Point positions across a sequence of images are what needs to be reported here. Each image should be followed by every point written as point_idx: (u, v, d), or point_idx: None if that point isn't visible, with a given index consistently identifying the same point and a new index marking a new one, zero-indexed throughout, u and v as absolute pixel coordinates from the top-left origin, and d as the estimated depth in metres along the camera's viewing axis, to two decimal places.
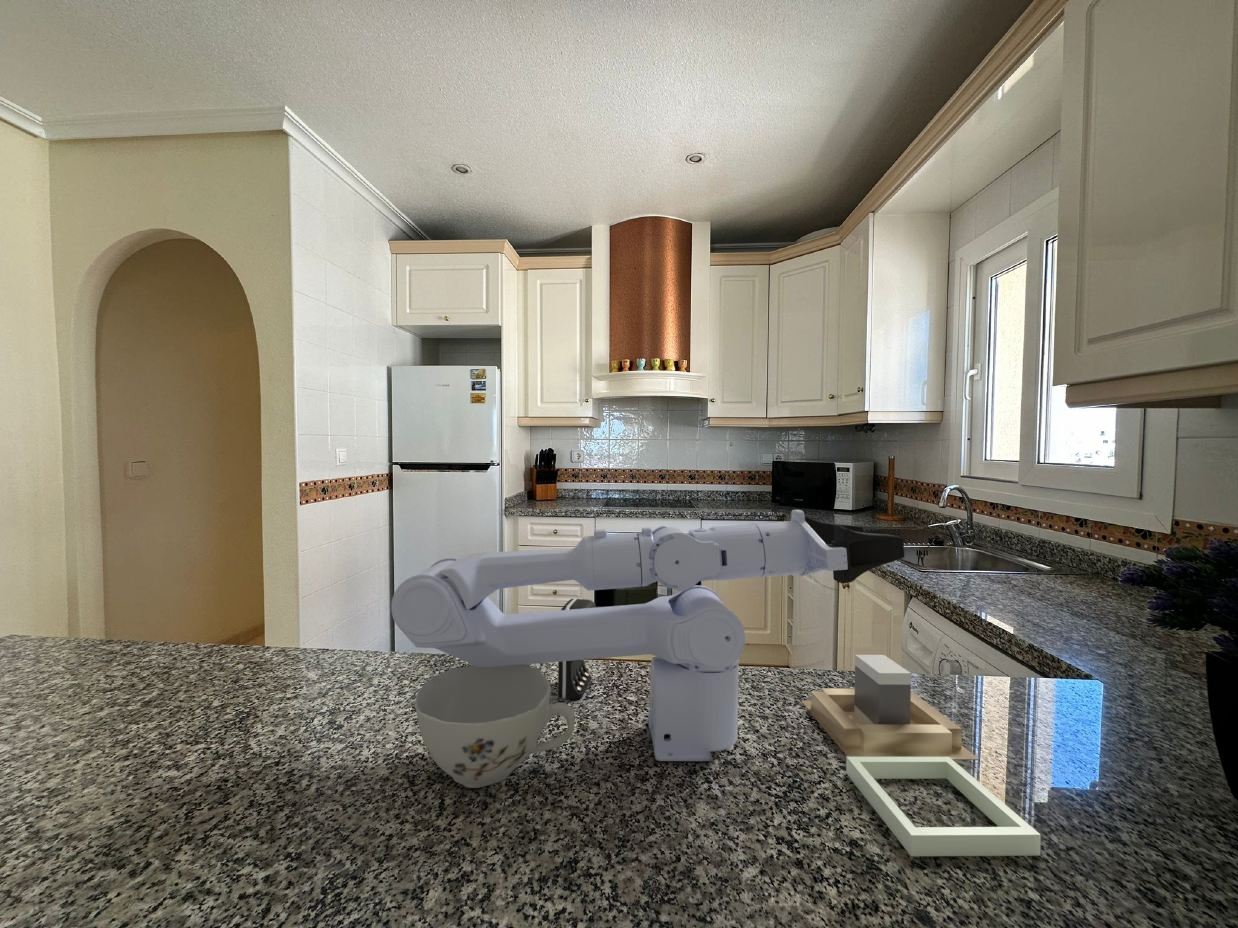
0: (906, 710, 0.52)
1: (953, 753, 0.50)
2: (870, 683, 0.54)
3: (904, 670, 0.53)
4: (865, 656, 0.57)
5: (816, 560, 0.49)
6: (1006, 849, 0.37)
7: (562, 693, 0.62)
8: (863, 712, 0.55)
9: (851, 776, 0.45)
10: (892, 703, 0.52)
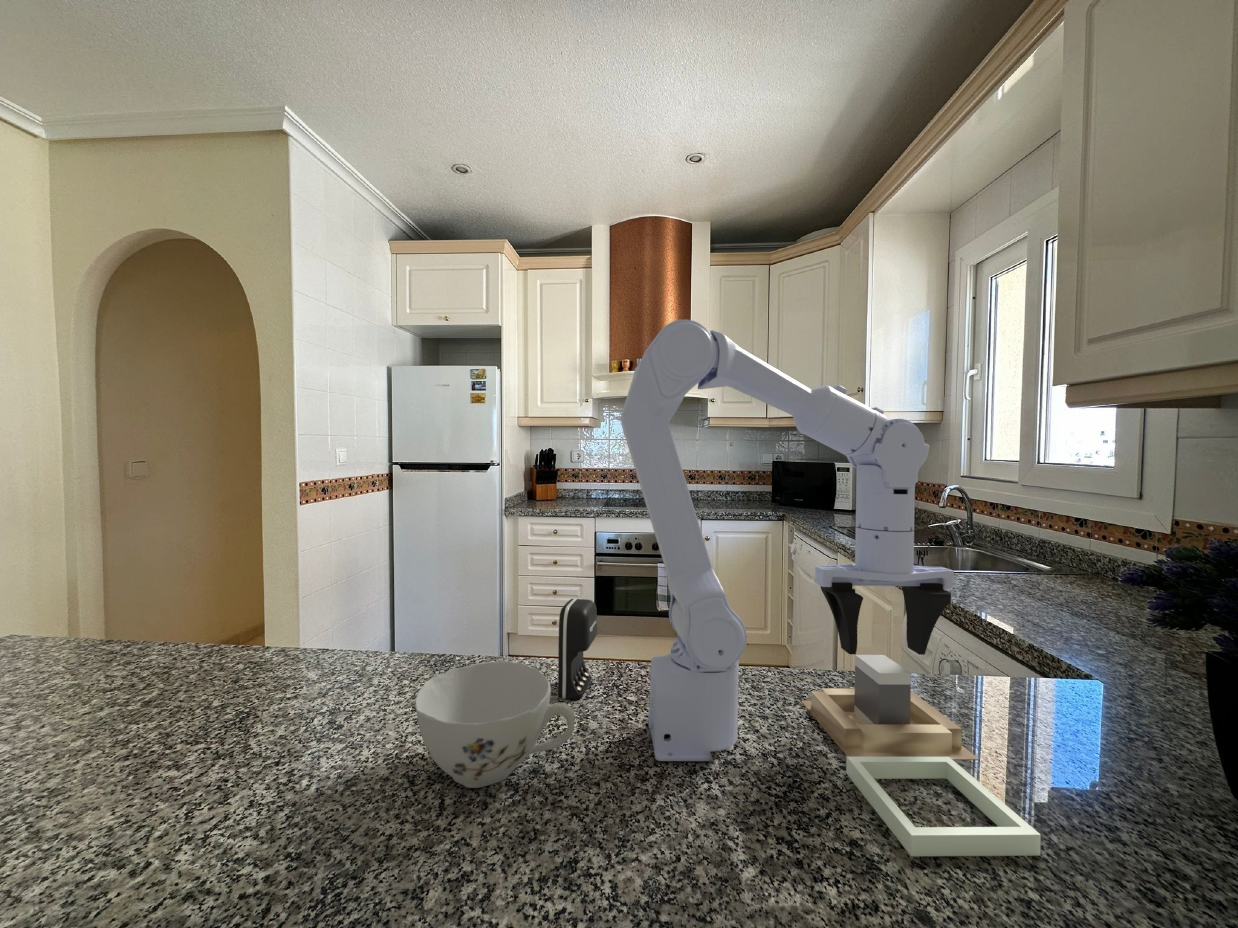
0: (906, 710, 0.52)
1: (953, 753, 0.50)
2: (870, 683, 0.54)
3: (904, 670, 0.53)
4: (865, 656, 0.57)
5: (928, 570, 0.54)
6: (1006, 849, 0.37)
7: (562, 693, 0.62)
8: (863, 712, 0.55)
9: (851, 776, 0.45)
10: (892, 703, 0.52)
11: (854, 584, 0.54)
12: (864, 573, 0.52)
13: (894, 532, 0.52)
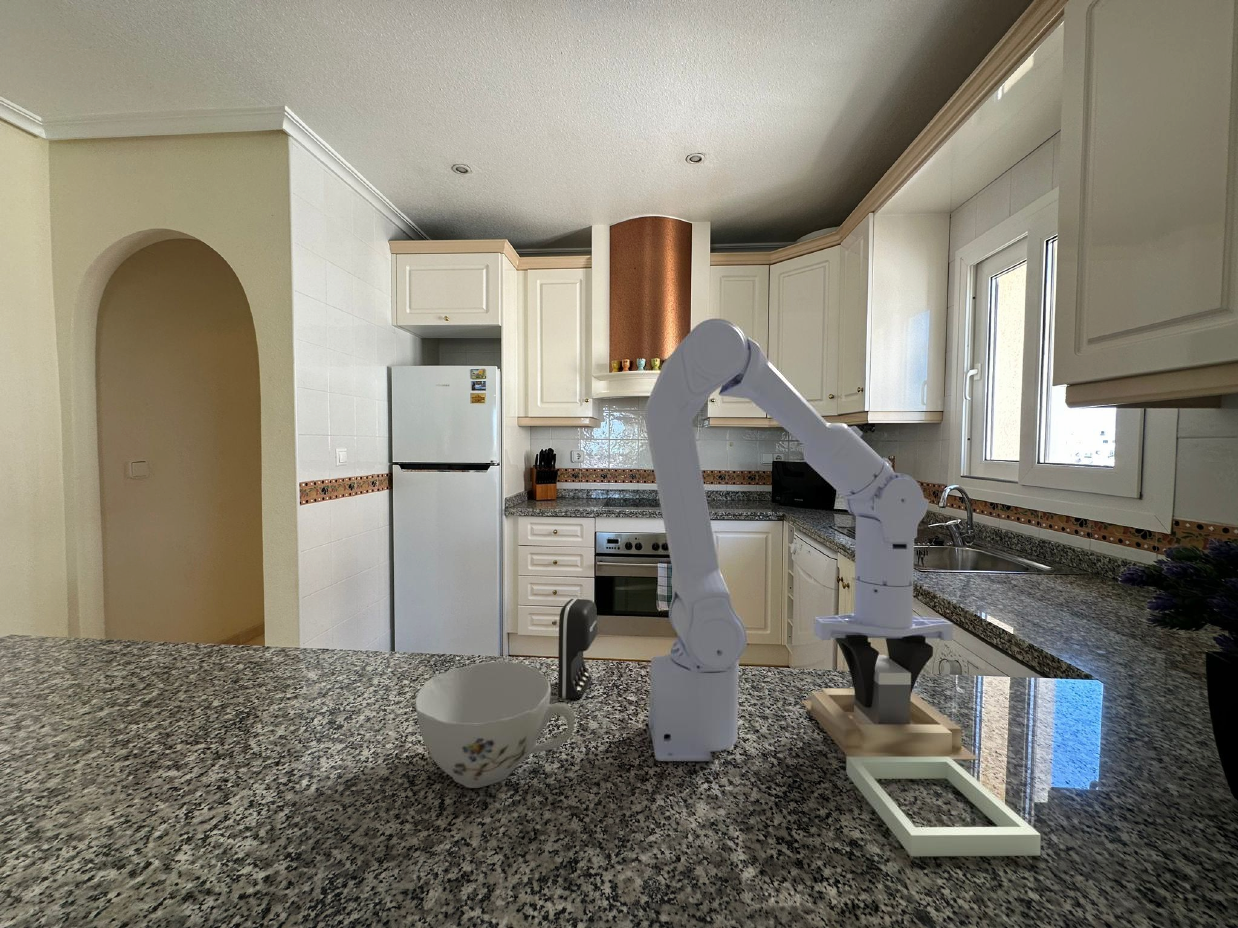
0: (906, 710, 0.52)
1: (953, 753, 0.50)
2: None
3: (904, 670, 0.53)
4: None
5: (927, 622, 0.54)
6: (1006, 849, 0.37)
7: (562, 693, 0.62)
8: (863, 712, 0.55)
9: (851, 776, 0.45)
10: (892, 703, 0.52)
11: None
12: (863, 627, 0.52)
13: (893, 587, 0.52)
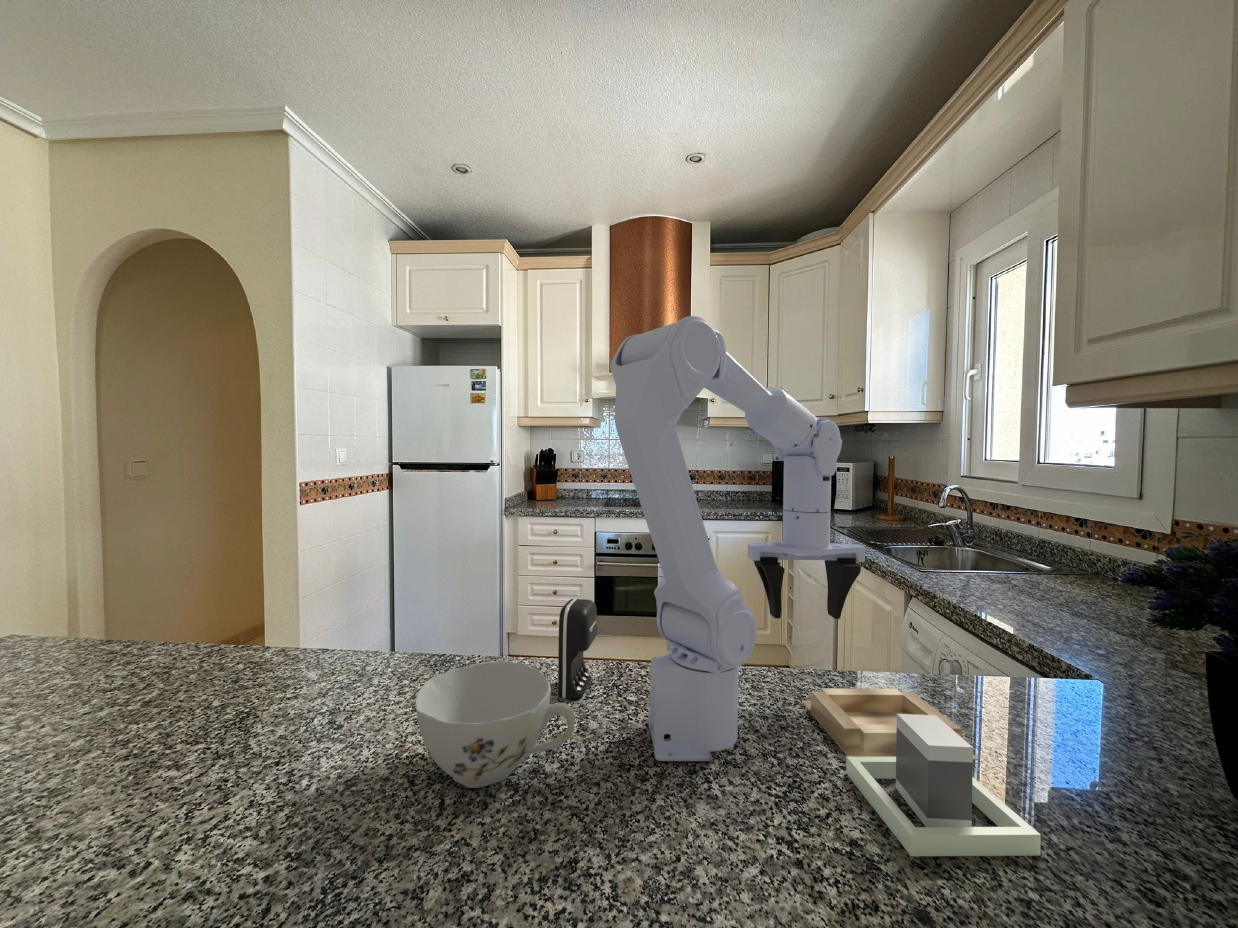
0: (966, 796, 0.39)
1: None
2: (916, 755, 0.41)
3: (964, 742, 0.40)
4: (910, 716, 0.44)
5: (843, 546, 0.63)
6: (1006, 849, 0.37)
7: (562, 693, 0.62)
8: (907, 791, 0.42)
9: (851, 776, 0.45)
10: (946, 786, 0.39)
11: (780, 558, 0.63)
12: (786, 548, 0.61)
13: (811, 513, 0.61)
